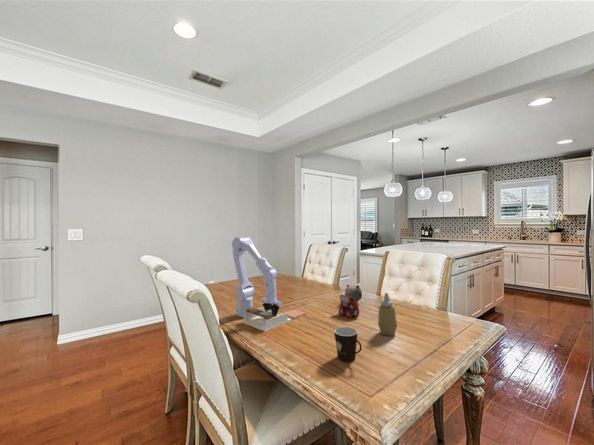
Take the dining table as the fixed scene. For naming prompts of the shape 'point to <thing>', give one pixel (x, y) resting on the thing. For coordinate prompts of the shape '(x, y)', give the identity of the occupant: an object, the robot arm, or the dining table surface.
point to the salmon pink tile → (295, 314)
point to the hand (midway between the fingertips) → (271, 317)
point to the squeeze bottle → (387, 317)
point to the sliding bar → (259, 313)
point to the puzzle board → (262, 322)
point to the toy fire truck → (348, 306)
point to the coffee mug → (346, 343)
